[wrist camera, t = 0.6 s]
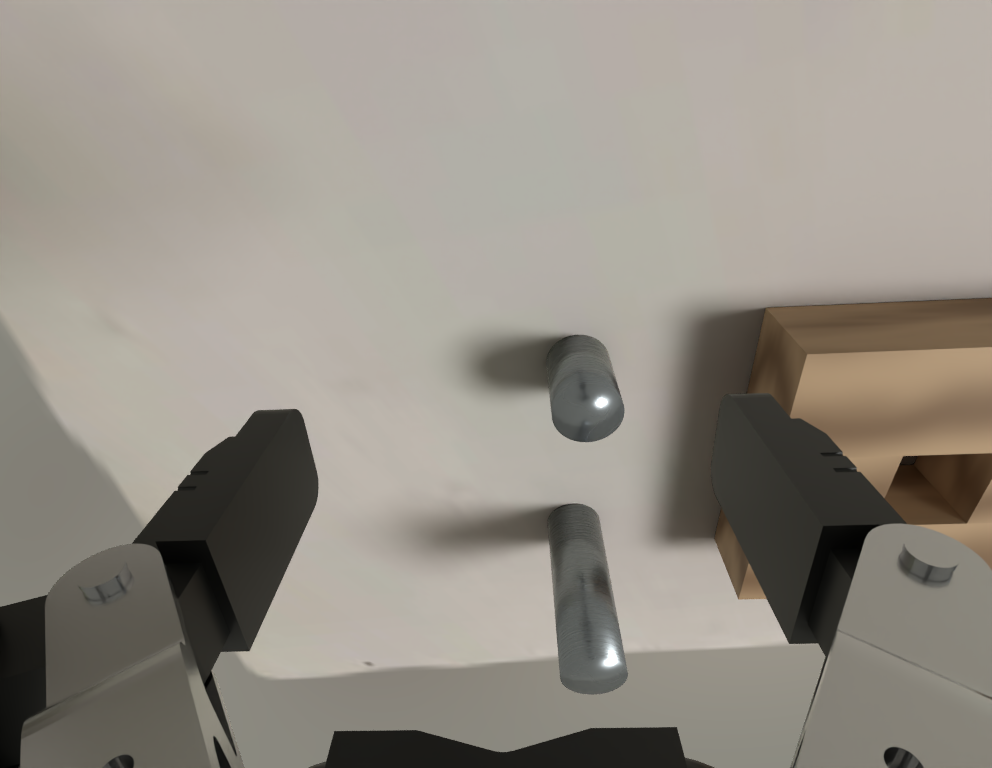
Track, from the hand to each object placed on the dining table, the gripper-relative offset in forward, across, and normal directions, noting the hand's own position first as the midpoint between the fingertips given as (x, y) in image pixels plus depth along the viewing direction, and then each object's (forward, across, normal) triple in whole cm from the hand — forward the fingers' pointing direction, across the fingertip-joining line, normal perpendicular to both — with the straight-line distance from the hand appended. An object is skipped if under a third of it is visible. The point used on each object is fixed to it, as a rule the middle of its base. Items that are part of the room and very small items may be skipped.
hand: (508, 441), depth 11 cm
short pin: (+20, -4, +8) cm, 22 cm away
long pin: (+21, -4, +21) cm, 30 cm away
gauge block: (+21, -23, +14) cm, 34 cm away
